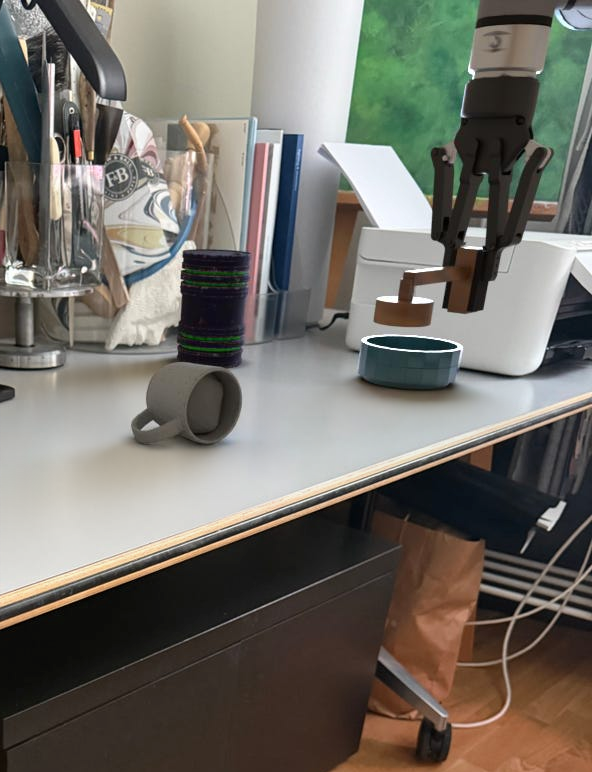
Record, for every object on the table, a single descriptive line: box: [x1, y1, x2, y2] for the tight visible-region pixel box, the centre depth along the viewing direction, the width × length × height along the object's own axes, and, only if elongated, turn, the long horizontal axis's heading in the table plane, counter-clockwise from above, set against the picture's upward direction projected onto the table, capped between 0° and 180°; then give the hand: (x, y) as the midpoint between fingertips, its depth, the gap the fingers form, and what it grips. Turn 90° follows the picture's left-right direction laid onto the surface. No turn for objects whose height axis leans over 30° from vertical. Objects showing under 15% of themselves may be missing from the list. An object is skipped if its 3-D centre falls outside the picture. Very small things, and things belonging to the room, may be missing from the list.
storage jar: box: [176, 248, 252, 369], centre depth 134 cm, size 10×10×15 cm
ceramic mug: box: [130, 361, 243, 445], centre depth 97 cm, size 11×8×8 cm
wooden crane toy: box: [373, 246, 483, 328], centre depth 104 cm, size 18×6×7 cm, turn 135°
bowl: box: [356, 334, 464, 390], centre depth 128 cm, size 13×13×5 cm
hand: (462, 308), depth 110 cm, fingers closed on wooden crane toy, 2 cm apart
